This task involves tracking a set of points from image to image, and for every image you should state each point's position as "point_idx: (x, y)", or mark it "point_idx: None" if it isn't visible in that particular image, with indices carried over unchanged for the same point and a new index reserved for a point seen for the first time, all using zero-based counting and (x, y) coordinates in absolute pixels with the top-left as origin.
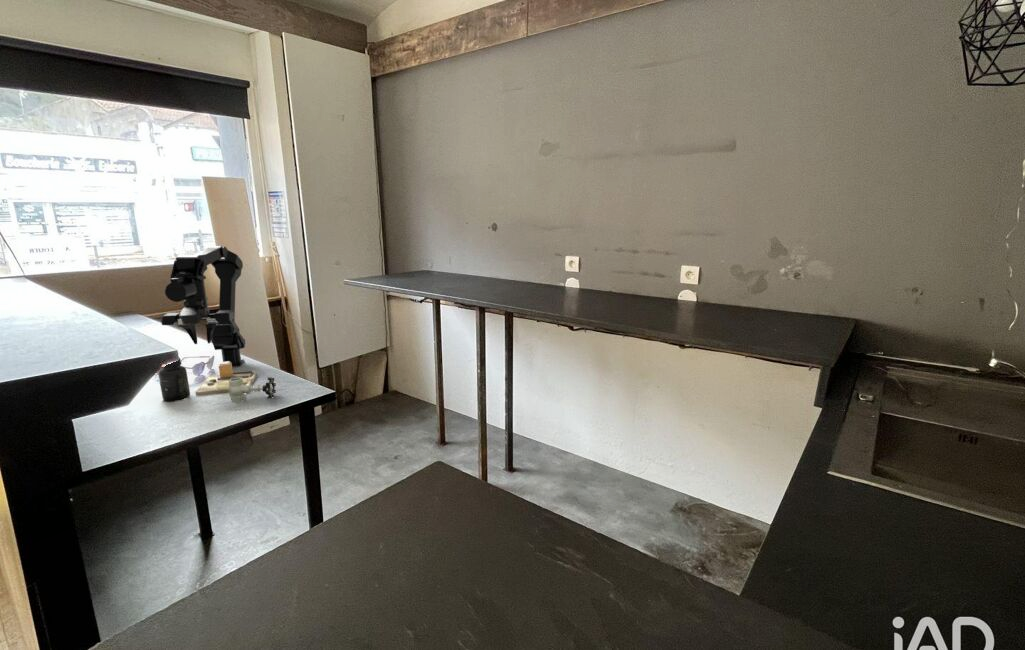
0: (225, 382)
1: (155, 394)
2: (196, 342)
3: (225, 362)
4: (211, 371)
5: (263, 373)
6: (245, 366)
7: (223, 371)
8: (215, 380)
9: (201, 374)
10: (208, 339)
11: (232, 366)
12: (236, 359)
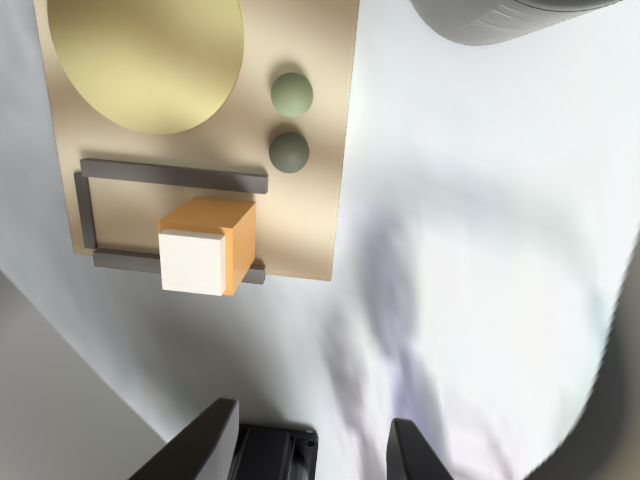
0: (198, 84)
1: (623, 91)
2: (391, 448)
3: (186, 267)
4: (352, 396)
5: (66, 268)
6: (198, 411)
7: (218, 211)
8: (271, 145)
9: (395, 368)
10: (195, 439)
11: (259, 426)
12: (231, 465)
